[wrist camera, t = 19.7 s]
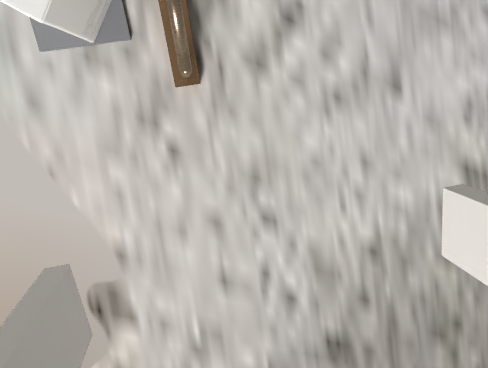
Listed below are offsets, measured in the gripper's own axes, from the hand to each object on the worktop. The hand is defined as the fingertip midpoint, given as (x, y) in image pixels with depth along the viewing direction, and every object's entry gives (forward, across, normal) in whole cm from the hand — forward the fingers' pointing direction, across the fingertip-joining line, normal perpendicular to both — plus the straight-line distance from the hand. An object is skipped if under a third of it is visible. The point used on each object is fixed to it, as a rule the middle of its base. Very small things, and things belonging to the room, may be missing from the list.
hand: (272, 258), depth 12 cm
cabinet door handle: (+35, -2, +17) cm, 39 cm away
